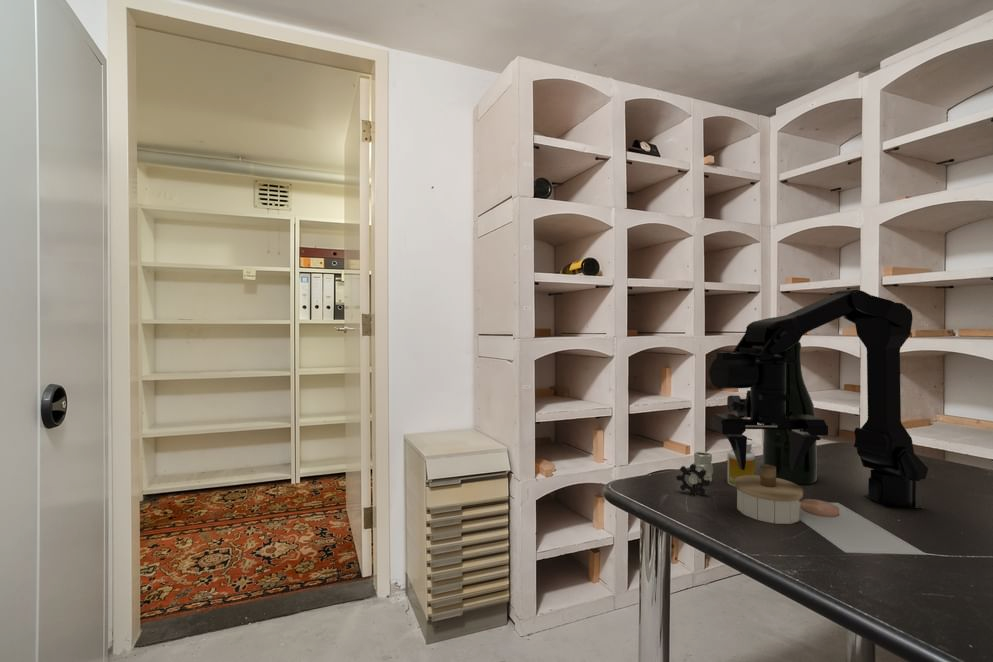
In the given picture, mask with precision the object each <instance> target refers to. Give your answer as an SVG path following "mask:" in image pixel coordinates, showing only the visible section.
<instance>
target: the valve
mask: <svg viewBox="0 0 993 662" xmlns="http://www.w3.org/2000/svg"><path fill="white" fill-rule="evenodd" d="M693 455H694V456H693V457H694V458H693V460H694V462H693V463H692V464H690V466H689V468H688V469H687V468H686V466H685V465H682V466H681V467H680V469H679V470H680V472H681V473H682V474H680V473H679V474H677V475H676V477H675V478H676V480H677V481H680V482H682V484H681V485H680V487H679V489H680V490H681V491H686V490H689V495H690V496H691V495H693V496H692V497H695V496H696V494H697V492H699V493H700V494H701V495H705V494H706V493H707V489H706V488H704V487H705V486H706V487H708V486H710V484H711V482H712V481H713V477H712V475H713V473H714V467H713V464H712V461H713V460H712V459H713V458H712V457H713V456H712V453H710V452H707V451H706V452H705V451H696V452H694V454H693ZM686 475H687V476H688V482H686ZM688 483H690V484H691V485H692V486H690V485H689V484H688ZM698 483H700V485H699V486H698V487H697V484H698Z"/></svg>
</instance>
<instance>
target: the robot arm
mask: <svg viewBox="0 0 993 662" xmlns="http://www.w3.org/2000/svg"><path fill="white" fill-rule="evenodd" d="M839 318H840V319H841V318H843V319H844V320H847V321H849V322H851V323H852V324H854V325H855V329H856V330H855V331H856V335H857V336H858V338H859V340H860V341H861V342H862V344H863V345H864V347H865V349H866V381H867V382H866V384H867V385H866V387H867V388H866V390H867V395H866V396H867V397H866V398H867V419H866V422H865V423H864V424H863V425H862V426H861V427H856V428H855V429H854V444H853V447H854V448H856V452H857V455H858V456H859V457H860V461H861V464H862V467H864V468H868V469H870V477H868V487H867V488H868V493H867V494H866V493H865V494H864V497H865V498H867V499H870V500H871V501H873V502H875V503H877V504H879V505H881V506H882V507H885V508H887V509H893V510H895V509H896V510H897V509H899V510H900V509H901V510H923V509H924V507H923V506H921V505H920V504H917V482H921V480H925V479H927V475H928V472H929V468H928V467H927V466H926V464H925V463H924V462H923V461H922V460H921V459H920V458H919V456H917V455H916V453H915V451H914V445H913V444H914V443H913V439H912V437H911V435H910V434H909V432H908V431H907V429H906V428H905V426H904V425H903V423H902V418H901V417H902V414H901V413H902V411H901V410H902V409H901V408H902V405H901V402H902V401H901V398H902V397H901V395H902V394H901V348H902V347H903V346H904V344H905V343H906V341H907V340H908V339H909V337H910V335H911V333H912V332H911V331H912V325H913V319H914V318H913V312H912V310H911V309H910V308H908V307H907V305H905V304H904V303H901V302H895V301H893V300H889V299H886V298H883V297H880V296H875V295H872V294H870V293H867V292H866V291H864V290H861V289H845V290H843V289H842V290H837V291H835V292H833V293H832V294H831V295H829V296H827V297H824V298H822V299H820V300H818V301H815V302H813V303H810V304H808V305H807V306H804V307H802V308H801V307H800V309H797V310H795V311H793V312H790V313H788V314H784V315H781V316H776V317H775V316H774V317H768V318H764V319H759V320H754V321H752V322H750V323H748V325H746V330H745V332H744V334H743V336H742V338H741V339H740V340H739V342H738V344H737V345H736V346H735V348H734V349H733V351H732V352H726V351H717V352H716V358H715V359H714V360H713V361H712V363H711V365H710V368H709V369H708V375H709V380H710V382H711V383H712V386H714V388H716V389H719V390H726V389H727V390H728V389H729V390H731V389H733V390H734V389H748V390H746V397H745V398H741V396H740V395H732V394H731V395H728V396H727V402H726V406H727V411H728V412H729V413H714V414H713V416H712V417H711V419H710V423H711V424H710V428H711V429H713V430H715V431H716V432H718V433H719V434H721V435H723V436H724V437H726V439H727V440H728V442H729V444H730V447H731V446H732V448H733V451H734V454H735V456H736V459H737V462H738V465H739V467H740V469H741V470H745V465H746V448H747V441H748V437H747V436H746V435H744V432H746V431H747V430H764V429H787V432H788V435H789V438H790V456H789V463H790V469H791V470H792V471H795V470H796V469H797V467H798V466H799V464H800V462H801V461H802V459H803V457H804V456H805V454H806V453H807V451H808V450H809V449H810V447H811V446H812V445H813V444H814V442H815V441H816V442H817V441H821V439H822V438H821V436H822V437H823V436H825V437H827V436H829V425H828V423H827V422H826V420H825V419H824V418H820V417H817V416H815V417H814V416H811V415H790V417H786V401H790V395H787V394H786V364H792V363H797V360H796V359H795V358H794V357H792V356H791V355H790V354H789V353H788V351H786V350H788V349H789V348H791V347H792V346H793V345H795V344H796V343H798V342H800V341H801V339H802V337H803V336H804V335H806V333H808V332H811V331H813V330H815V329H817V328H820V327H822V326H824V325H827V324H828V323H831V322H833V321H835V320H837V319H839ZM749 388H750V390H749ZM732 413H736V414H737V415H735V414H732ZM771 424H772V425H771ZM773 424H774V425H773ZM775 424H778V425H775ZM732 448H731V449H732Z"/></svg>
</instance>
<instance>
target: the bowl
mask: <svg viewBox="0 0 993 662" xmlns="http://www.w3.org/2000/svg"><path fill="white" fill-rule="evenodd" d="M736 491H737V492H736V495H737V496H736V509H737V510H738V511H739V512H740V513H741V514H743V515H744V516H747V517H748V518H751V519H754V520H756V521H762V522H765V523H771V524H778V525H779V524H780V525H782V524H783V525H791V524H795V523H797V522H800V520H799V502H801V499H800V500H797V501H789V502H783V501H772V500H766V499H761V498H757V497H753V496H750V495H747V494H745V493H743V492H741V491H739V490H738V489H737V488H736Z"/></svg>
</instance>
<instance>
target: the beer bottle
mask: <svg viewBox="0 0 993 662" xmlns="http://www.w3.org/2000/svg"><path fill="white" fill-rule="evenodd" d="M786 351H788V353H789V354H790V355H791V356H792V357H794V358H795V359H796V360H797V363H792V364H786V394H787V395H790V401H786V417H790V415H811V416H814V417H816V412H815V411H816V410H815V407H814V402H813V400H812V397H811V395H810V393H809V391H808V388H807V386H806V384H805V380H804V377H803V371H802V362H801V361H802V357H801V353H802V352H801V351H802V344H801V342H800V341H799V342H798V343H796V344H795V345H793V346H792V347H791V348H789V349H788V350H786ZM771 425H772V424H771ZM773 425H774V424H773ZM775 425H778V424H775ZM762 441H763V443H762V464H768V465H773V466H775V467H776V478H780V479H784V480H787V481H790V482H793V483H795V484H797V485H799V486H804V485H805V486H809V485H812V484H814V483H816V482H817V477H818V476H817V475H818V466H817V465H818V464H817V463H818V462H817V461H818V459H817V457H818V455H817V454H818V453H817V446H818V445H817V440H816V441H815V442H814V444H813V445H812V446H811V447H810V449H809V450H808V451H807V453H806V454H805V456H804V457H803V459H802V461H801V462H800V464H799V466H798V467H797V469H796V470H795V471H792V470H791V469H790V463H789V456H790V438H789V435H788V432H787V429H763V440H762Z"/></svg>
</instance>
